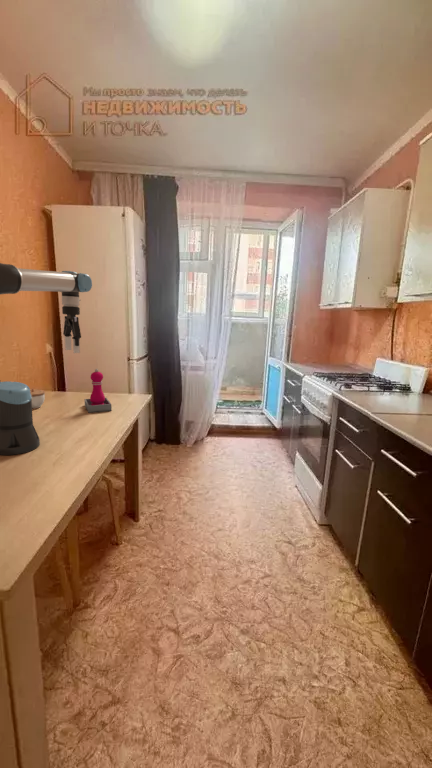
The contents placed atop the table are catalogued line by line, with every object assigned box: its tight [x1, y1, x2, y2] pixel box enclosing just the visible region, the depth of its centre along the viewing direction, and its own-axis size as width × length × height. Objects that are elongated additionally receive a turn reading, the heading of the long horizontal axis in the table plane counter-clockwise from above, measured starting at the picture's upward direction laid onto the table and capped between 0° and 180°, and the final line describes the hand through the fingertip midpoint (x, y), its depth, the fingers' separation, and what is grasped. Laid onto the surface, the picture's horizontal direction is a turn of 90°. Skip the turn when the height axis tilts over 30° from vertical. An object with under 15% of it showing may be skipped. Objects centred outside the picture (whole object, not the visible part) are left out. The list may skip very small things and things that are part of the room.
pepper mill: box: [89, 368, 106, 406], centre depth 174 cm, size 7×7×20 cm
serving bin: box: [84, 397, 113, 414], centre depth 176 cm, size 14×11×4 cm
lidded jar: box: [30, 388, 46, 410], centre depth 173 cm, size 11×11×9 cm
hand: (72, 351), depth 164 cm, fingers open, 13 cm apart
